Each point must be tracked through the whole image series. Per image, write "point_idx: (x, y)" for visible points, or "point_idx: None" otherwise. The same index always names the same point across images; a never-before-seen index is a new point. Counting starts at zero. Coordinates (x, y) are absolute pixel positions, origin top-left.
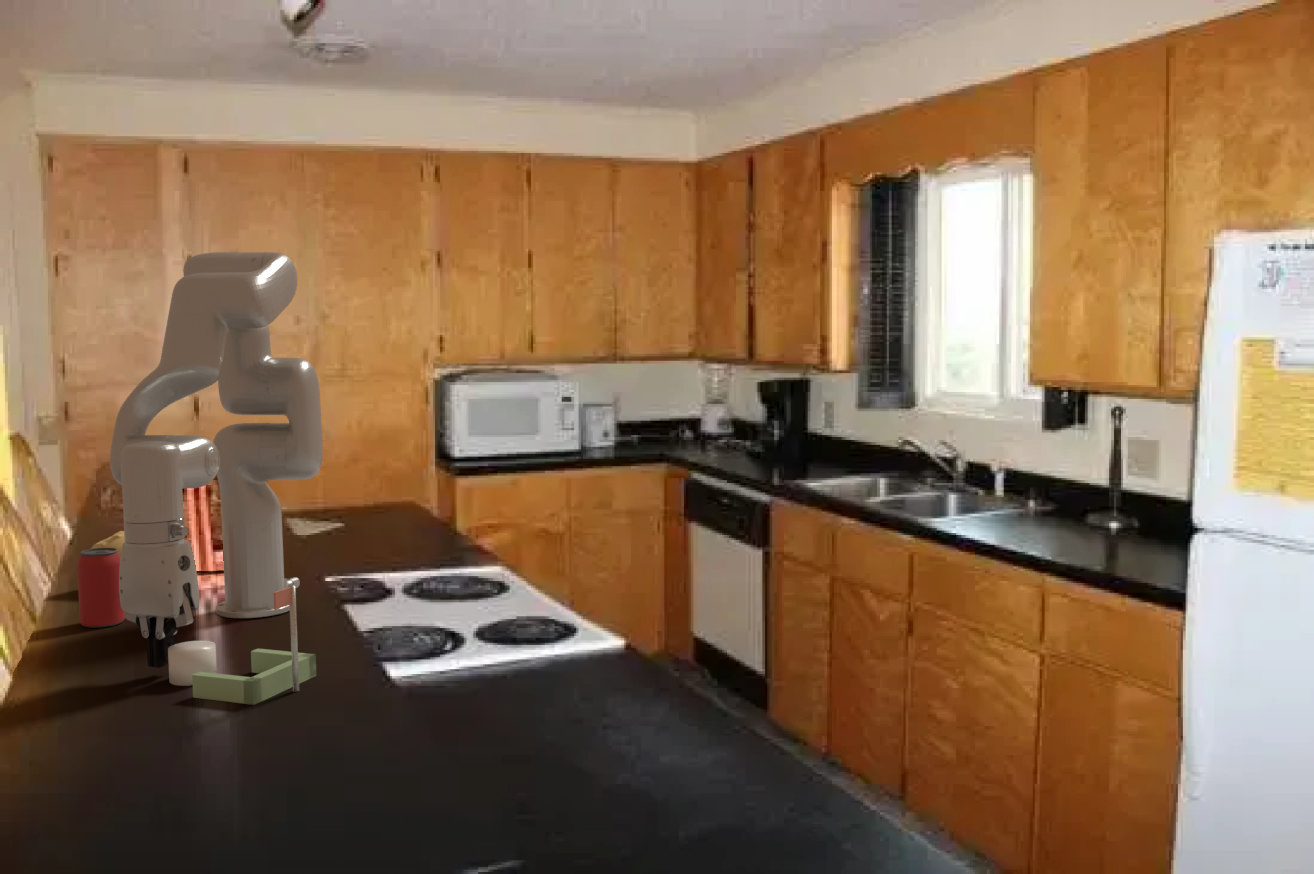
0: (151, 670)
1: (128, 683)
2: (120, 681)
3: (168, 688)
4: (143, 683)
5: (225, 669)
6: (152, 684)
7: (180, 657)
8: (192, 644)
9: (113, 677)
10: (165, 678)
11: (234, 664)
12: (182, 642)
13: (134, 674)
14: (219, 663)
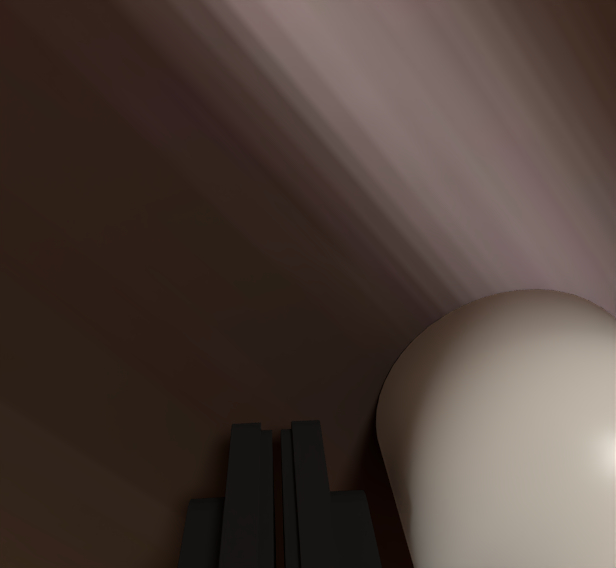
0: (113, 370)
1: None
2: (138, 557)
3: None
4: None
5: (602, 185)
6: None
7: None
8: (602, 559)
9: (31, 529)
10: (336, 450)
11: (608, 46)
12: (462, 547)
13: (90, 458)
14: (469, 63)
